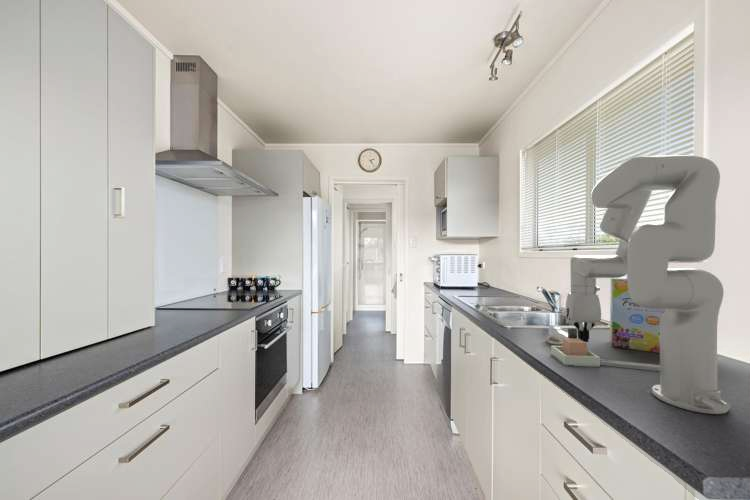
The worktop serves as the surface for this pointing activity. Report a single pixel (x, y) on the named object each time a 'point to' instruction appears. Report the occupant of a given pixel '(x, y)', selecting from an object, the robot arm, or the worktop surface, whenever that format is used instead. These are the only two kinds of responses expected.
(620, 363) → the adjustable wrench
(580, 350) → the block
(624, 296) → the snack box
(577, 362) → the tray
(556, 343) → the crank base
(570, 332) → the crank
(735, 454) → the worktop surface
